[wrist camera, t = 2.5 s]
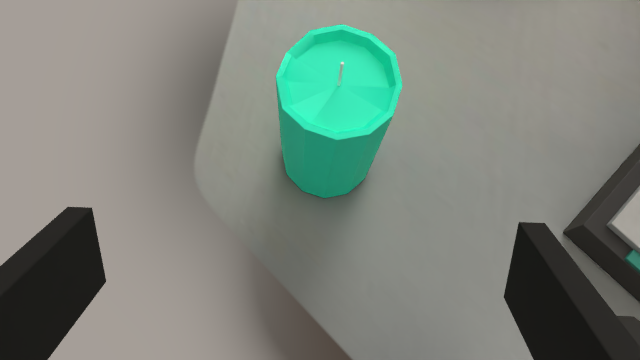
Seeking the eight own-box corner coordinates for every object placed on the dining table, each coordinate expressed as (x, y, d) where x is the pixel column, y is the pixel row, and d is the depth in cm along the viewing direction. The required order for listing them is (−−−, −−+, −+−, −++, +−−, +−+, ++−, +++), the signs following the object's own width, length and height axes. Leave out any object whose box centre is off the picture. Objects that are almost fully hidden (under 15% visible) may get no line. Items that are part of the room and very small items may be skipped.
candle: (344, 100, 34) (368, -14, 23) (387, 174, 33) (435, 91, 21) (267, 136, 33) (251, 35, 22) (307, 213, 32) (312, 148, 20)
